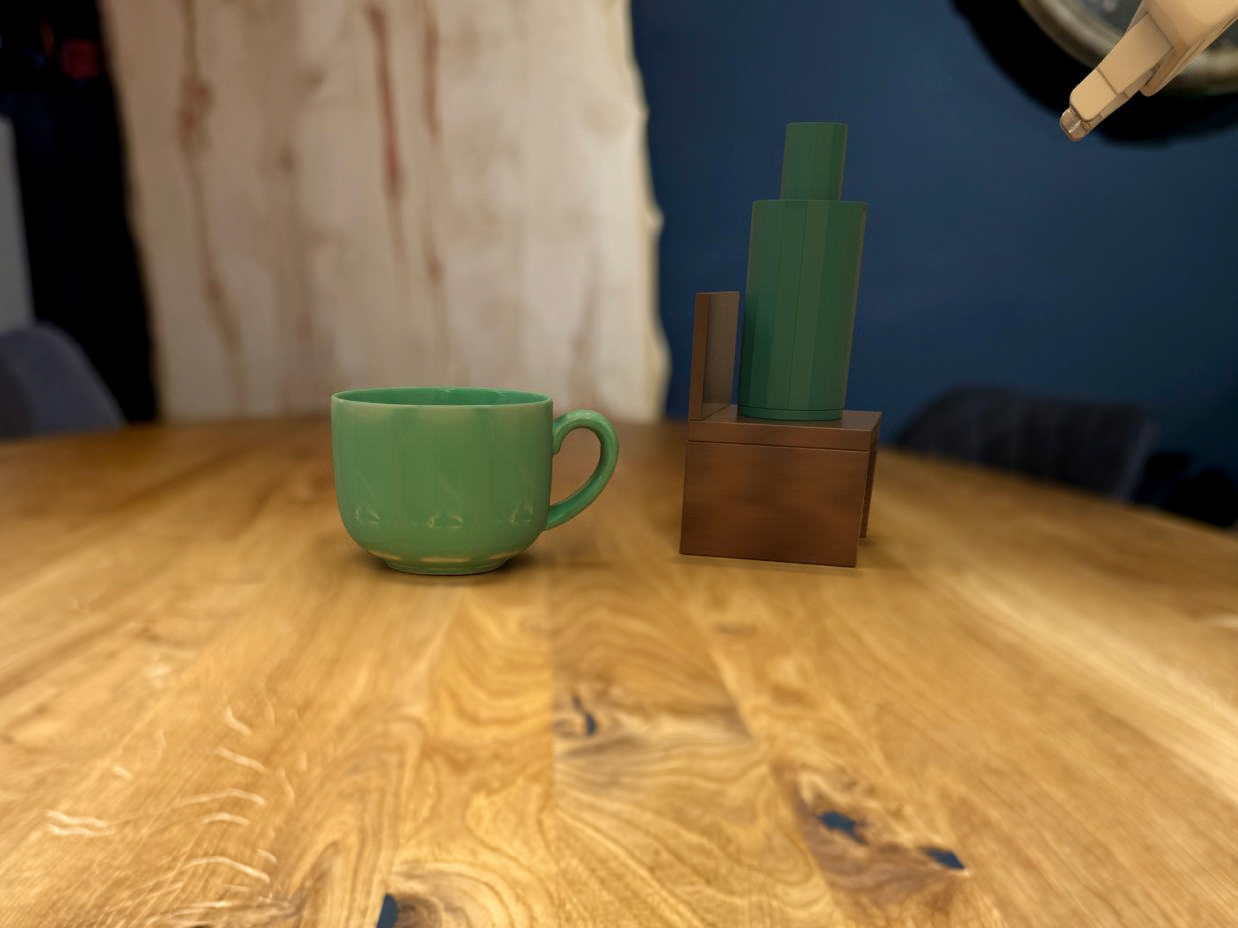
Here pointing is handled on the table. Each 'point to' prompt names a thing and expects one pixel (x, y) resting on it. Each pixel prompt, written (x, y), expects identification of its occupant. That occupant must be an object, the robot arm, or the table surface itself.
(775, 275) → the bottle
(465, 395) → the mug
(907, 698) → the table surface
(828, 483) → the wooden toy chair
